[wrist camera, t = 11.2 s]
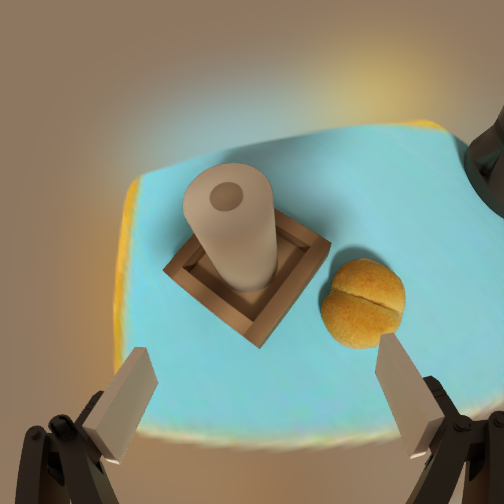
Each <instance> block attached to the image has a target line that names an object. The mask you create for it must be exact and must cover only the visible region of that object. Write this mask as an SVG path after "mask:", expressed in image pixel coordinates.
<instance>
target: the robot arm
mask: <svg viewBox="0 0 504 504" xmlns="http://www.w3.org/2000/svg"><path fill="white" fill-rule="evenodd" d="M464 164H465V169H466V172H467V175H468V177H469V179H470V182H471V183H472V185H473V187H474V189H475V190H476V192H477V193H478V194H479V196H480V197H481V198H482V200H483V201H484V202H485V203H486V204H487V205H488V206H489V207H490V208H491V209H492V210H493V211H494V212H495V213H497V214H498V215H499V216H501V217H502V218H504V106H503V108H502V110H501V112H500V114H499V116H498V118H497V120H496V122H495V123H494V125H493V126H492V127H490V128H489V129H488V130H486V131H485V132H484V133H482V134H481V135H480V136H479V137H477V138H476V139H475V140H473V142H472V143H471V144H470V146H469V148H468V149H467V151H466V153H465V157H464ZM375 374H376V376H377V379H378V381H379V383H380V385H381V388H382V390H383V392H384V395H385V397H386V399H387V402H388V404H389V406H390V409H391V411H392V414H393V416H394V419H395V421H396V424H397V426H398V429H399V431H400V434H401V436H402V439H403V441H404V444H405V446H406V449H407V452H408V454H409V457H410V459H411V458H414V457H417V456H421V455H424V454H425V453H426V451H427V449H428V448H430V450H431V452H432V453H431V455H430V457H429V458H428V460H427V462H426V463H425V468H424V470H423V472H422V474H421V476H420V478H419V480H418V482H417V484H416V486H415V488H414V490H413V491H412V493H411V495H410V497H409V499H408V500H407V502H406V504H448V503H449V501H450V498H451V496H452V494H453V492H454V489H455V487H456V484H457V481H458V479H459V476H460V473H461V471H462V468H463V465H464V462H466V471H465V481H464V490H463V498H462V504H504V411H495V412H493V413H492V414H491V415H490V417H489V419H488V420H480V421H472V420H471V419H470V418H469V417H467V416H465V415H460V414H459V412H458V410H457V409H456V407H455V406H454V404H453V402H452V401H451V399H450V398H449V396H448V395H447V393H446V391H445V390H444V389H443V387H442V385H441V384H440V382H439V381H438V380H437V379H435V378H434V377H433V376H428V377H424V378H422V377H421V375H420V373H419V372H418V370H417V369H416V367H415V365H414V364H413V362H412V361H411V359H410V357H409V356H408V354H407V353H406V351H405V350H404V348H403V347H402V345H401V343H400V342H399V340H398V339H397V337H396V336H395V334H394V333H393V332H392V333H386V334H381V336H380V344H379V350H378V357H377V363H376V369H375ZM157 385H158V381H157V378H156V375H155V372H154V369H153V367H152V364H151V361H150V358H149V355H148V352H147V349H146V347H134V349H133V350H132V352H131V353H130V355H129V356H128V357H127V359H126V360H125V362H124V363H123V365H122V366H121V368H120V369H119V371H118V372H117V374H116V375H115V376H114V378H113V379H112V381H111V382H110V384H109V385H108V387H107V388H106V390H105V391H99V392H97V393H96V394H95V395H93V396H92V398H91V399H90V401H89V403H88V404H87V405H86V407H85V409H84V410H83V411H82V413H81V414H80V416H79V417H78V419H77V420H76V421H75V423H73V422H72V420H71V419H70V417H68V416H67V415H63V414H62V415H57V416H55V417H53V418H52V419H51V420H50V422H49V425H48V427H49V429H50V430H51V432H52V433H47V432H46V431H45V430H44V428H43V427H41V426H33V427H31V428H29V429H28V431H27V432H26V434H25V439H24V444H23V449H22V454H21V460H20V465H19V472H18V479H17V488H16V498H15V504H70V499H71V503H72V504H119V502H118V501H117V498H116V496H115V494H114V491H113V489H112V487H111V484H110V482H109V479H108V477H107V474H106V472H105V469H104V467H103V464H102V462H101V461H100V457H101V455H103V456H104V458H105V459H106V460H107V461H109V462H113V463H117V464H120V463H121V461H122V459H123V457H124V455H125V452H126V450H127V448H128V446H129V444H130V442H131V439H132V437H133V435H134V433H135V431H136V429H137V427H138V424H139V422H140V420H141V418H142V416H143V414H144V412H145V410H146V408H147V406H148V403H149V401H150V399H151V397H152V395H153V393H154V391H155V389H156V387H157Z"/></svg>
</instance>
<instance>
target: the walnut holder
mask: <svg viewBox="0 0 504 504" xmlns="http://www.w3.org/2000/svg"><path fill="white" fill-rule="evenodd" d="M274 217H275V229H276V242H277V255H278V270H277V274H276V276H275V278H274V280H273V281H272V282H271V283H270V284H269V285H268V286H267V287H266V288H264V289H262V290H260V291H258V292H254V293H241V292H237V291H235V290H233V289H231V288H230V287H229V286H228V285H227V284H226V283H225V282H224V280H223V279H222V277H221V276H220V274H219V272H218V271H217V269H216V268H215V266H214V264H213V263H212V261H211V260H210V258H209V256H208V255H207V253H206V251H205V250H204V248H203V246H202V245H201V243H200V242H199V240H198V238H197V237H196V235H195V233H194V234H193V235H192V237H191V238H190V239H189V240H188V241H187V242H186V243H185V245H184V246H183V247H182V248H181V249H180V250H179V251H178V253H177V254H176V255H175V256H174V257H173V258H172V260H171V261H170V262H169V263H168V264H167V265H166V267H165V268H164V269H163V271H164V272H165V273H166V274H167V275H168V276H169V277H170V278H171V279H172V280H173V281H175V282H176V283H177V284H178V285H179V286H181V287H182V288H183V289H184V290H185V291H187V292H188V293H189V294H190V295H191V296H193V297H194V298H195V299H196V300H197V301H199V302H200V303H201V304H202V305H204V306H205V307H206V308H207V309H209V310H210V311H211V312H212V313H214V314H215V315H216V316H217V317H219V318H220V319H221V320H222V321H224V322H225V323H226V324H227V325H229V326H230V327H231V328H233V329H234V330H235V331H237V332H238V333H239V334H240V335H242V336H243V337H244V338H246V339H247V340H248V341H250V342H251V343H252V344H254V345H255V346H256V347H258V348H259V349H260V348H261V347H262V345H263V344H264V343H265V342H266V340H267V339H268V338H269V336H270V335H271V334H272V332H273V331H274V330H275V329H276V327H277V326H278V325H279V323H280V322H281V321H282V319H283V318H284V317H285V315H286V314H287V313H288V311H289V310H290V309H291V307H292V306H293V304H294V303H295V302H296V300H297V299H298V298H299V296H300V295H301V294H302V292H303V291H304V289H305V288H306V287H307V285H308V284H309V282H310V281H311V280H312V278H313V277H314V275H315V274H316V272H317V271H318V270H319V268H320V267H321V265H322V264H323V262H324V261H325V260H326V258H327V257H328V254H329V251H330V247H331V244H332V243H331V242H329V241H328V240H326V239H325V238H323V237H321V236H320V235H318V234H316V233H315V232H313V231H311V230H310V229H308V228H306V227H305V226H303V225H301V224H300V223H298V222H296V221H295V220H293V219H291V218H290V217H288V216H286V215H285V214H283V213H281V212H279V211H278V210H276V209H274Z"/></svg>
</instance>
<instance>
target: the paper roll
mask: <svg viewBox="0 0 504 504" xmlns="http://www.w3.org/2000/svg"><path fill="white" fill-rule="evenodd" d="M183 212H184V215H185V218H186V220H187V222H188V223H189V225H190V227H191V228H192V230H193V232H194V233H195V235H196V237H197V238H198V240H199V242H200V243H201V245H202V246H203V248H204V250H205V251H206V253H207V255H208V256H209V258H210V260H211V261H212V263H213V264H214V266H215V268H216V269H217V271H218V272H219V274H220V276H221V277H222V279H223V280H224V282H225V283H226V284H227V285H228V286H229V287H230V288H231V289H233V290H235V291H237V292H241V293H254V292H258V291H260V290H262V289H264V288H266V287H267V286H268V285H269V284H270V283H271V282H272V281H273V280H274V278H275V276H276V274H277V270H278V255H277V242H276V229H275V217H274V205H273V194H272V188H271V185H270V182H269V181H268V179H267V178H266V176H265V175H264V174H263V173H262V172H260V171H259V170H258V169H256V168H254V167H252V166H249V165H246V164H241V163H226V164H221V165H217V166H214V167H212V168H209V169H207V170H206V171H204V172H202V173H201V174H200V175H198V176H197V177H196V178H195V179H194V180H193V181H192V182H191V184H190V185H189V187H188V189H187V190H186V193H185V195H184V199H183Z"/></svg>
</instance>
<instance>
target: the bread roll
mask: <svg viewBox="0 0 504 504" xmlns="http://www.w3.org/2000/svg"><path fill="white" fill-rule="evenodd" d="M404 307H405V289H404V286H403V284H402V281H401V279H400V278H399V277H398V276H397V275H396V274H395V273H394V272H392V271H391V270H390V269H388V268H387V266H384V265H382V264H380V263H378V262H375V261H373V260H371V259H367V258H360V259H359V260H353V261H350V262H347V263H346V264H344V265H343V266H342V267H341V268H340V269H339V270H338V271H337V273H336V274H335V276H334V278H333V280H332V285H331V290H330V293H329V295H328V296H327V297H326V298H325V299H324V301H323V302H322V306H321V316H322V319H323V322H324V324H325V326H326V328H327V330H328V331H329V333H330V334H331V335H332V336H333V338H334V339H335V340H336V341H337V342H339V343H340V344H341V345H343V346H345V347H348V348H351V349H366V348H373V347H376V346H378V345H379V344H380V336H381V334H386V333H392V332H393V333H395V332H396V331H397V329H398V327H399V325H400V323H401V320H402V315H403V312H404Z"/></svg>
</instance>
